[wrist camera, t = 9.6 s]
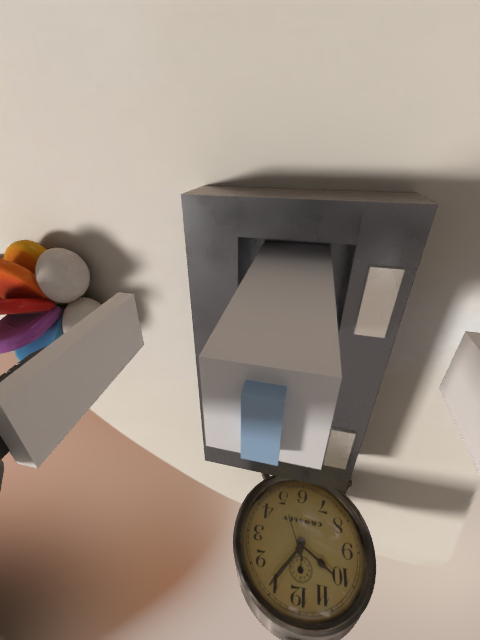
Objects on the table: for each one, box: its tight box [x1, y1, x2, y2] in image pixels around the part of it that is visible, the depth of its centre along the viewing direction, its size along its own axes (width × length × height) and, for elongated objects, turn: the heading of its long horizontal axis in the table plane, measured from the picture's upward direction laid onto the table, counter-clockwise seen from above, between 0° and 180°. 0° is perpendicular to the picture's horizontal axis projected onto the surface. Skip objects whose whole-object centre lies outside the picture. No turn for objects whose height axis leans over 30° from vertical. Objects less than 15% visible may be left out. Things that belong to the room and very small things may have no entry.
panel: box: [181, 186, 438, 491], centre depth 21 cm, size 22×12×4 cm, turn 0°
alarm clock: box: [233, 473, 376, 640], centre depth 24 cm, size 11×5×16 cm, turn 92°
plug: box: [199, 241, 342, 470], centre depth 14 cm, size 4×4×13 cm
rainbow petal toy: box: [0, 240, 101, 361], centre depth 23 cm, size 8×10×7 cm
